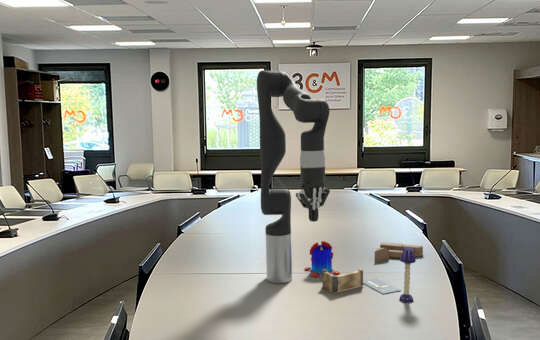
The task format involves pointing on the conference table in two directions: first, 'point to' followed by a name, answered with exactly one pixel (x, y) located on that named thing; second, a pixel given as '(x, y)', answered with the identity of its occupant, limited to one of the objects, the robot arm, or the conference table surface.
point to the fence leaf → (347, 281)
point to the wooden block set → (395, 251)
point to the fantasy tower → (321, 259)
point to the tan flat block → (327, 280)
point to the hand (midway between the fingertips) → (313, 220)
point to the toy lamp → (407, 272)
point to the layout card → (380, 286)
